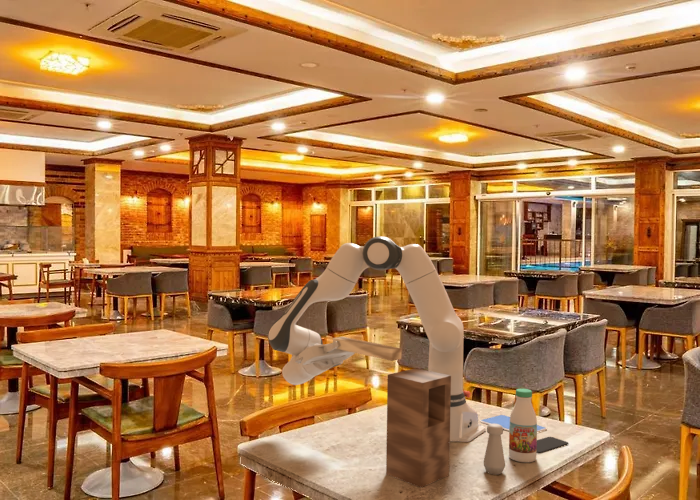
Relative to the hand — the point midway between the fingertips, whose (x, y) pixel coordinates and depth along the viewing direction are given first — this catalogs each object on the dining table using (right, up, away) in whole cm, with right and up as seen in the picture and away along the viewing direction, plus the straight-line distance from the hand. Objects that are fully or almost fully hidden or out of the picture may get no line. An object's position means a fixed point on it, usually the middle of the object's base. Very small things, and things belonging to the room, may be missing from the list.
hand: (344, 342), depth 186 cm
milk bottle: (+52, -33, -6) cm, 62 cm away
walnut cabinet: (+20, -33, -20) cm, 43 cm away
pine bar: (+6, -2, -6) cm, 9 cm away
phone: (+62, -33, +5) cm, 70 cm away
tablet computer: (+57, -33, +24) cm, 70 cm away
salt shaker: (+41, -33, -17) cm, 55 cm away
